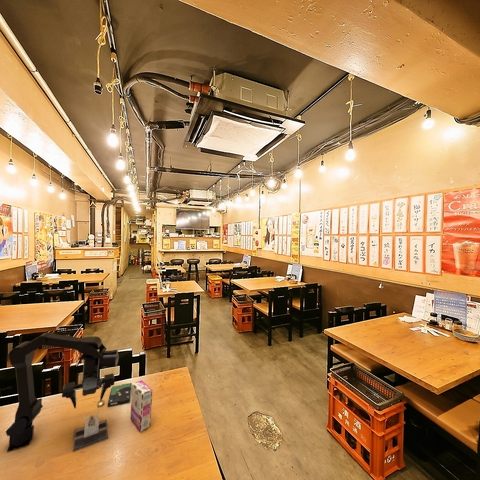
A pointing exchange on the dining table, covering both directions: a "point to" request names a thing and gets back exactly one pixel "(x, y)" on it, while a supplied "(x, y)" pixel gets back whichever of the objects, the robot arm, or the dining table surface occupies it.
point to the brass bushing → (100, 404)
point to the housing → (91, 425)
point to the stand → (90, 440)
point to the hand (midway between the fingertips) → (88, 404)
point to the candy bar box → (141, 405)
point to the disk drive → (120, 395)
